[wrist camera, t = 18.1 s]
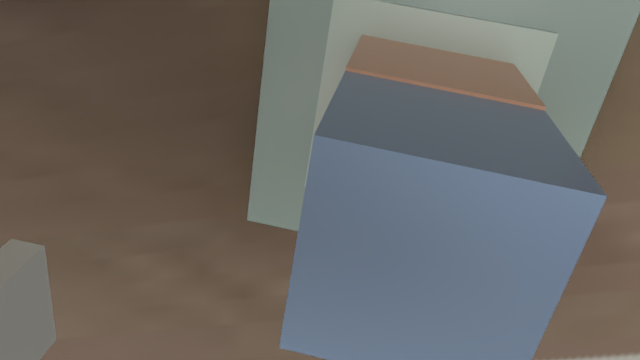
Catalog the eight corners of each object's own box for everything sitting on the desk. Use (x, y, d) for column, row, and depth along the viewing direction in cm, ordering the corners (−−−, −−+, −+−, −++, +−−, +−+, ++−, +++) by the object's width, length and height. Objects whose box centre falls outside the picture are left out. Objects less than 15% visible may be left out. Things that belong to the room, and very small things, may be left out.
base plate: (285, -91, 24) (277, -92, 23) (644, -30, 23) (659, -27, 21) (252, 210, 31) (245, 222, 30) (524, 269, 30) (529, 285, 28)
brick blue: (345, 70, 19) (313, 135, 13) (545, 110, 18) (607, 196, 12) (315, 235, 22) (278, 347, 16) (484, 273, 21) (511, 404, 15)
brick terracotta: (362, 34, 24) (345, 67, 18) (514, 63, 24) (546, 106, 18) (336, 169, 27) (315, 233, 22) (469, 197, 27) (485, 271, 21)
